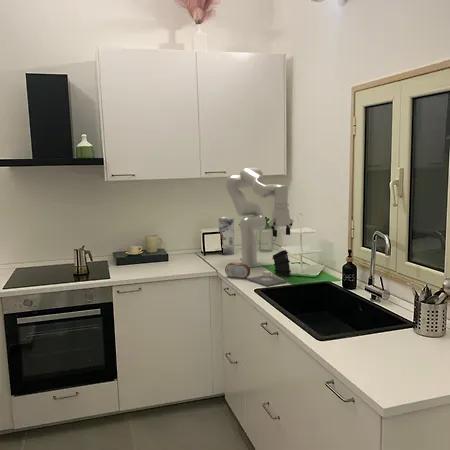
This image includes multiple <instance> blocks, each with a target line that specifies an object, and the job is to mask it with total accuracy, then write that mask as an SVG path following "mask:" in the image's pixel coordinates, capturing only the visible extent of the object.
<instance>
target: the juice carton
mask: <svg viewBox="0 0 450 450" xmlns="http://www.w3.org/2000/svg"><path fill="white" fill-rule="evenodd" d="M219 231H220V235H221V239H222V248H223V253H221V252H220V251H219V254H221V255H224V256H228V255H234V254H235V218H230V217H226V216H222V217H221V218H218V232H219Z"/></svg>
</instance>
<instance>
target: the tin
mask: <svg viewBox="0 0 450 450" xmlns="http://www.w3.org/2000/svg"><path fill="white" fill-rule="evenodd" d="M241 263H242V262H229V263H228V264H226V266H225V268H224V271H225V274H226V275H227V276H228V277H229V278H233V279H234V278H235V279H245V278H249V276H250V275H251V269H250V268H251V267H249V266H248V265H246V264H241Z"/></svg>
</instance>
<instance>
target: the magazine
mask: <svg viewBox="0 0 450 450" xmlns="http://www.w3.org/2000/svg"><path fill="white" fill-rule="evenodd" d="M288 254H289V252H288V251H287V249H286V250H285V249H284V250H281V251H279V252H277V253H275V254H273V255H272V258H271V259H272V260H273V262H274V264H273V266H274V269H273V271H274V273H275V274H276V275H278V276H281V277H284V278H289V277H291V272H292V271H291V267H290V263H291V260H290V259H289V256H288Z"/></svg>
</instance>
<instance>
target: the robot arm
mask: <svg viewBox="0 0 450 450" xmlns="http://www.w3.org/2000/svg"><path fill="white" fill-rule="evenodd" d="M264 182H265V180H264V176H263V171H262V169H260V168H259V167H246V168H242V170H241V171H240V174H233V175H230V176H228V177H227V178H226V181H225V187H226V191H227V193H228V194H229V197H230V198H231V200H232V202H233V205H234V208H235V210H236V212H237V215H238V216H240V217H242V218H241V219H240V221H239V228H240V234H241V236H240V237H241V257H240V258H239V261H241V262H240V263H241V264H246V265H248V266H249V268H257V267H259V266H260V263H259V262H258V249H257V246H258V244H257V242H258V241H257V239H258V238H257V236H256V234H255V231H262V230H264V229H265V228H266V226H267V220H266V218H265V215H264V213H263V211H262V207H261V206H260V204H259V203H258V202H257V201H255V200H247V198H246V196H245V194H244V193H243V192H242V191H241V190H240V189H242V188H243V189H245V188H250V187H252V191H253V192H254V193H255V195H257V196H258V197H260V198H273V199H274V202H273V203H274V209H272V210H273V211H272V214H271V220H270V221H269V223H268V225H269V227H270V229H271V230H272V237H274V238H277V237H278V230H277V229H278V227H286V228H285V234H286V236H291V229H292V226H293V223H294V219H293V218H291V217H290V209H289V202H288V197H289V196H288V186H287V184H277V183H272V184H270V183H269V184H264Z"/></svg>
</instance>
